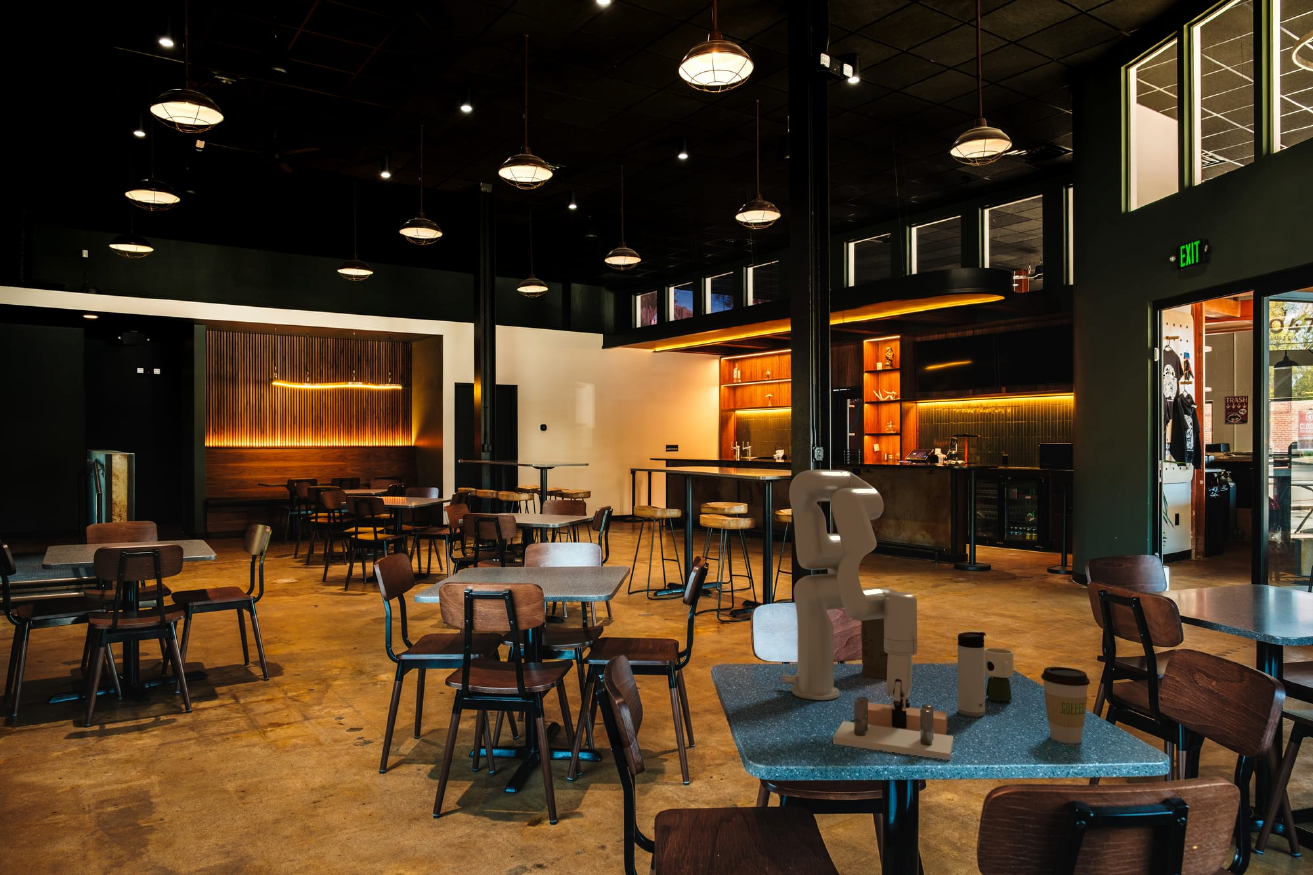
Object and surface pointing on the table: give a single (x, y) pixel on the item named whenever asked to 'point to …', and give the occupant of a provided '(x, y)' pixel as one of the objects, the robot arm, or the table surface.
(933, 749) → the peg base
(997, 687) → the character mug
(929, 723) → the steel pegs
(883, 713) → the shelf board
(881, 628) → the beer stein
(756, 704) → the table surface
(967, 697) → the travel mug
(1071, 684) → the coffee cup
